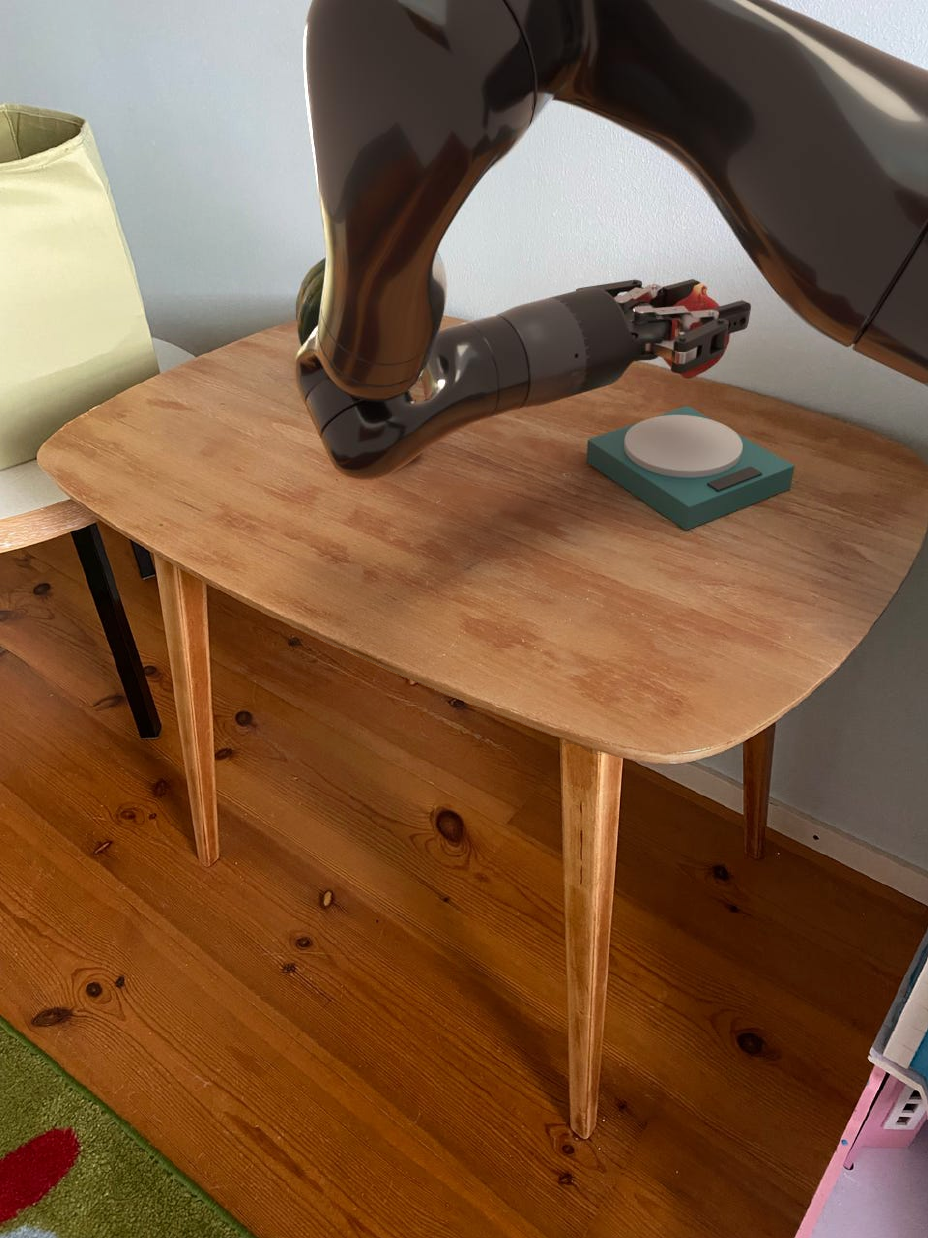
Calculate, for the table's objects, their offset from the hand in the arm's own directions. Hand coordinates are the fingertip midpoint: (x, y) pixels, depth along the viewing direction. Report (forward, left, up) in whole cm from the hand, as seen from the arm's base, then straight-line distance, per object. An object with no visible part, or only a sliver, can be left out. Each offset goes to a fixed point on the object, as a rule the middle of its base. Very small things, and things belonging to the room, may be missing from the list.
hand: (720, 302), depth 82 cm
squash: (+37, +15, -15) cm, 43 cm away
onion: (0, +3, -6) cm, 7 cm away
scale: (-1, +2, -15) cm, 15 cm away
